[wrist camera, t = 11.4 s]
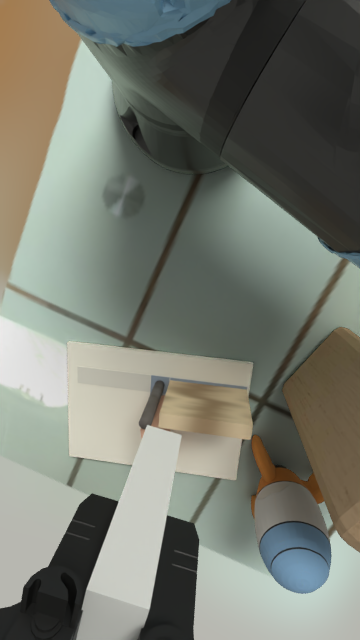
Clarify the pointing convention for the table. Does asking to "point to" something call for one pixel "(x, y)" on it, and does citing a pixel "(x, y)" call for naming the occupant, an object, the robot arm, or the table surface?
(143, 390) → the card
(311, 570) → the toy rocket
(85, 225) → the table surface
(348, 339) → the wooden block
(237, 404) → the fixed fence panel
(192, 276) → the table surface
